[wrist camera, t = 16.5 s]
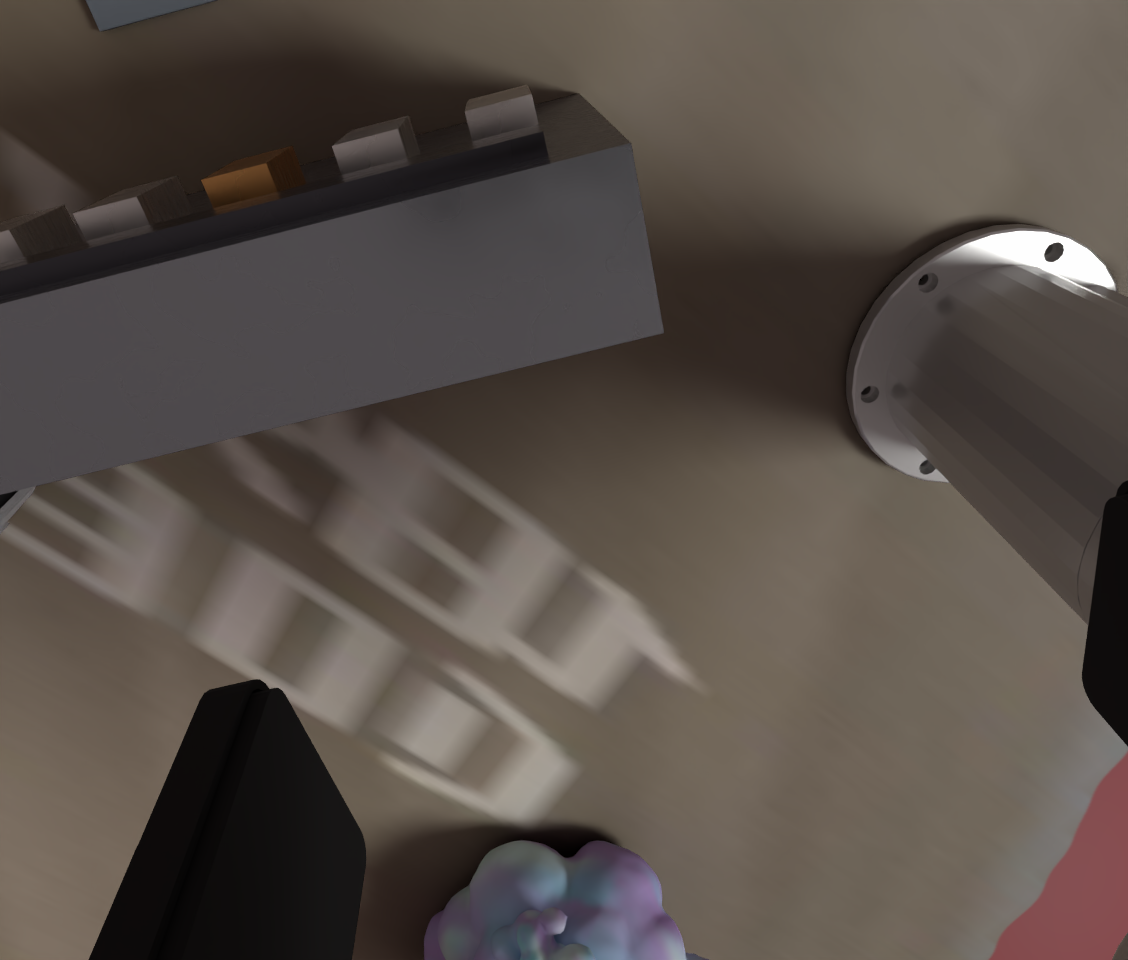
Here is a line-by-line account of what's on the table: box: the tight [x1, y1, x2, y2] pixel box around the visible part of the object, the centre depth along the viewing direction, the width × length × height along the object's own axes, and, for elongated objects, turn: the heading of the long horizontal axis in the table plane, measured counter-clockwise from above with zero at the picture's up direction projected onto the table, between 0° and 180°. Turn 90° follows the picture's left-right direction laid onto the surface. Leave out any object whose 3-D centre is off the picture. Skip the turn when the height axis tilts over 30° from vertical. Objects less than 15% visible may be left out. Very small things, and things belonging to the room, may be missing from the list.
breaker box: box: [0, 85, 664, 495], centre depth 27 cm, size 22×6×14 cm, turn 103°
